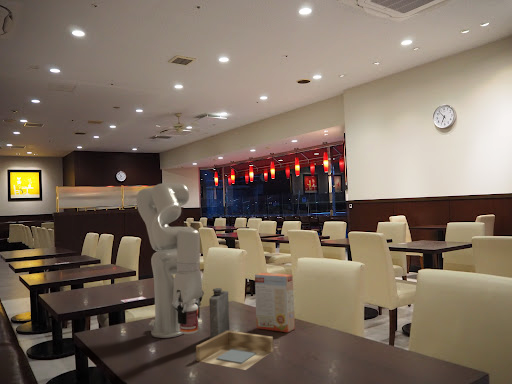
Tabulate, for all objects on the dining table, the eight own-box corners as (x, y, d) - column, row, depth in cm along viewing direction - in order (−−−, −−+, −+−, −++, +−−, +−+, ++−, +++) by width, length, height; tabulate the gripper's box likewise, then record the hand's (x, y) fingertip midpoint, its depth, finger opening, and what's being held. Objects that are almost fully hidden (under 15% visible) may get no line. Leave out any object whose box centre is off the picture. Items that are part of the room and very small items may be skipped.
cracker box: (295, 329, 160) (293, 273, 161) (288, 333, 155) (286, 276, 156) (264, 324, 168) (262, 271, 168) (256, 328, 162) (254, 274, 163)
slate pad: (216, 359, 129) (216, 358, 129) (232, 350, 137) (232, 348, 137) (241, 363, 125) (241, 362, 125) (256, 354, 133) (256, 352, 133)
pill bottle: (201, 332, 139) (201, 299, 139) (184, 336, 136) (183, 302, 136) (193, 326, 144) (193, 294, 144) (176, 330, 141) (176, 297, 141)
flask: (207, 345, 145) (205, 292, 145) (221, 332, 158) (219, 284, 159) (217, 345, 144) (215, 292, 144) (230, 333, 158) (229, 284, 158)
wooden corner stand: (196, 362, 129) (195, 346, 129) (227, 345, 144) (227, 330, 144) (245, 372, 120) (245, 354, 120) (273, 352, 135) (272, 336, 136)
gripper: (195, 261, 149) (195, 312, 149) (162, 270, 134) (162, 326, 134) (212, 263, 145) (213, 315, 146) (180, 272, 130) (180, 330, 131)
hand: (188, 320), depth 140 cm, fingers closed on pill bottle, 6 cm apart
